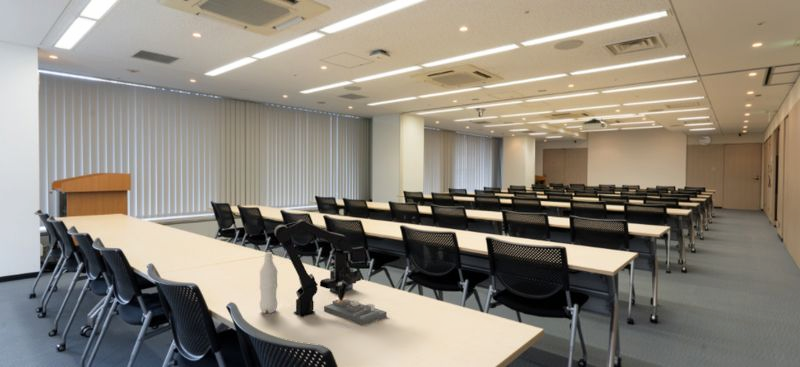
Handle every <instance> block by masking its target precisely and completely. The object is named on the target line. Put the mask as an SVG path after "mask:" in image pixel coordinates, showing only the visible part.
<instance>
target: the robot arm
mask: <svg viewBox="0 0 800 367" xmlns="http://www.w3.org/2000/svg"><path fill="white" fill-rule="evenodd" d="M302 231H305V232H306V233H308V234H311V235H313V236H316V237H318V238H320V239H322V240H325V241H327V242H329V244H332V245H333V246H334V247H336V248H337V249H336V248H333V249H331V251H329V254H330V255H332V256H334V265H332V270H335V275H333V278H335V279H334V280H332V279H330V277H329V278H328V277H327V278H324V279H320V282H319V284H318V283H317V281H316V279H315V277H314V275H313V273H310V274H308V272H307V270H306V268H305V266H304V263H303V261H302V260H301V258H300V255H299V253H298V252H297V249H296V247H295V245H294V242H293V237H292V236H293V235H296V234H298V233H300V232H302ZM274 236H275V237H276V239H277V240H278V241H279V243H280V244H281V245H282V247H283V248H284V250H285V251H286V253H287V255H288V258H289V259H290V261H291V262H290V263H292V266H293V268H294V270H295V272H296V273H297V276H298V280H299V284H300V287H299V288H298V290H296V291H295V293H296V296H297V298H296V299H295V311H293V313H294V315H297V316H299V317H303V318H304V317H307V316H309V315H313V314H315V313H316V311H315V310H314V306H315V305H314V296H315V295H316V294H317V293H318V285H319V286H320V287H321V288H324V289H328V290H330V288H334V289H335V291H336V293H335V294H336V295H337V297H338V299H340V300H343V299H344V296H345V294H346V292H347V291H346V289H347V287H348V286H349V285H351V284H353V285H354V284H356V283H357V282H360V281H362V276H361V274H360V273H361V272H360V271H359V270H358V269H357V270H353V271H352V272H351V271H350V269H351V266H349V262H350V263H351V264H359V263H360V264H361V263H365V262H366V260H367V259H366V258H367V257H366V256H367V255H366V252H365V247H364V246H358V247H353V246H351V244H350V239H349V238H348V237H347V236H345V235H344V234H342V233H341V234H340V233H337V232H333V231H328V230H326V229H323V228H321V227H319V226H318V225H317V226H316V225H314V224H312V223H310V222H307V221H305V220H304V219H299V220H297V221H295V222H294V221H293V222H291V223H287V224H278V225H277V226H276V227H275V228H274ZM344 250H346V251H344ZM338 280H340V281H338Z"/></svg>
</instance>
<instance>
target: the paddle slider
mask: <svg viewBox="0 0 800 367" xmlns="http://www.w3.org/2000/svg"><path fill="white" fill-rule="evenodd" d="M365 305H366V312H367V313H371V312H374V311H375V308H376V307H375V305H374V304H371V303H367V304H365Z"/></svg>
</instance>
